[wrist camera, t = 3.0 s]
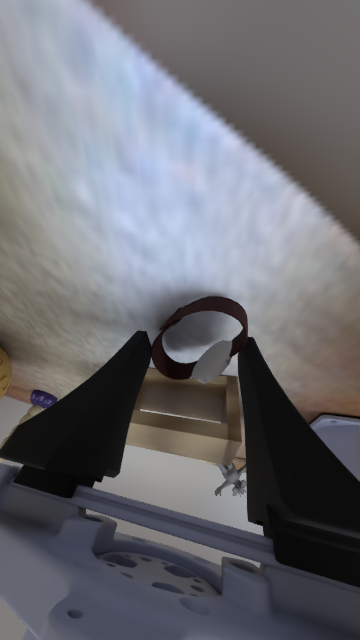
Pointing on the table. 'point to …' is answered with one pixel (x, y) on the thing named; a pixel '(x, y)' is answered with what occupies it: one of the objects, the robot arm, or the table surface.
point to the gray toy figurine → (232, 479)
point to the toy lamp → (35, 408)
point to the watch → (215, 356)
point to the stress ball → (4, 372)
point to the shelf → (184, 433)
